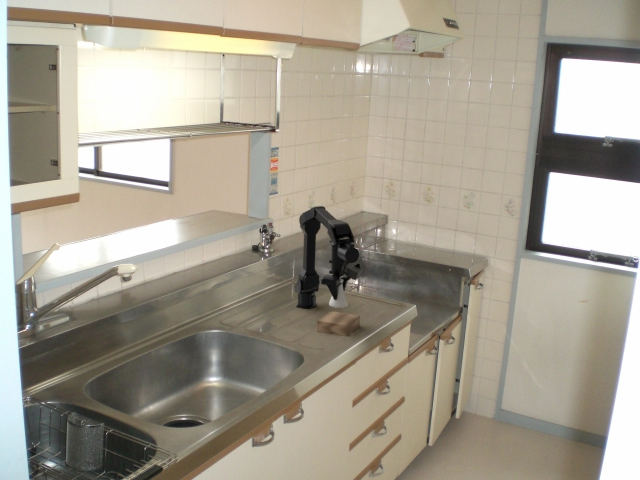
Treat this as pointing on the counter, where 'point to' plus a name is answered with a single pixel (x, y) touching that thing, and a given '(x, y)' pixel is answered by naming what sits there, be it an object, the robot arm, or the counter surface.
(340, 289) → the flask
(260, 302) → the counter surface
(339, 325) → the walnut block
